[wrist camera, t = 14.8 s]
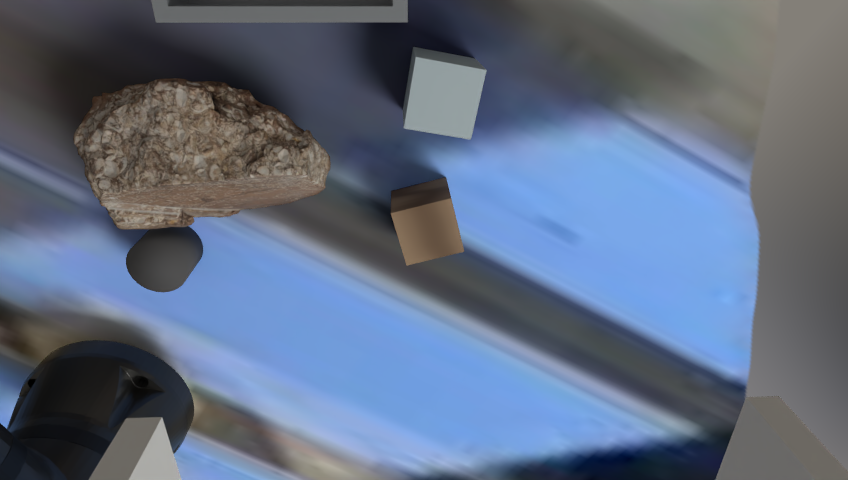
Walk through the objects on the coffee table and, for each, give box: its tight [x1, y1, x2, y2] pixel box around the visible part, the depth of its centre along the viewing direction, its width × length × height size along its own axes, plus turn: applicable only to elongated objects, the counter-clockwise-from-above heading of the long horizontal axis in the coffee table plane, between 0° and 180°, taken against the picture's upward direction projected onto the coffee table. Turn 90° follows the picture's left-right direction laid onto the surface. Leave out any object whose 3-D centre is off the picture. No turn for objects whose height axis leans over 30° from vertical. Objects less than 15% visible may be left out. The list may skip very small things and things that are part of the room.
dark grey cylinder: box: [126, 226, 203, 292], centre depth 46 cm, size 5×5×4 cm
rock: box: [73, 78, 330, 229], centre depth 39 cm, size 18×10×10 cm, turn 100°
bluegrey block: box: [403, 47, 486, 139], centre depth 40 cm, size 5×5×6 cm
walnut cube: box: [391, 177, 464, 265], centre depth 45 cm, size 5×5×5 cm
